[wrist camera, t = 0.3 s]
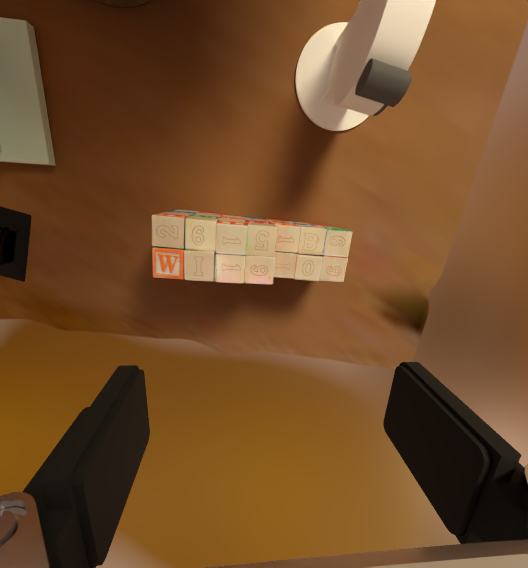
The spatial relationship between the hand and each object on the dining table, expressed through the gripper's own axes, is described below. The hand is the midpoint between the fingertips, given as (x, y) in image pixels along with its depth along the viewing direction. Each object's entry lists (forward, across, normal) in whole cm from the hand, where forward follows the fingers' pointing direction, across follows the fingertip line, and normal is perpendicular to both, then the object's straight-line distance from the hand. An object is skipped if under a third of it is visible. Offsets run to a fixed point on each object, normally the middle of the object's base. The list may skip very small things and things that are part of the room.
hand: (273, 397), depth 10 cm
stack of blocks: (+31, -1, -1) cm, 31 cm away
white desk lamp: (+31, -11, -21) cm, 39 cm away
